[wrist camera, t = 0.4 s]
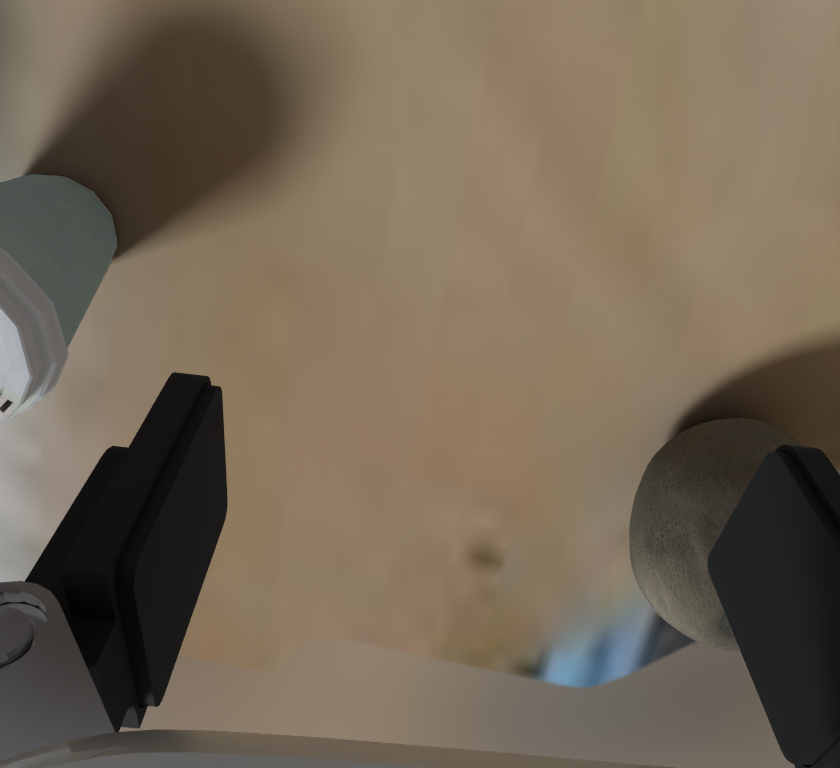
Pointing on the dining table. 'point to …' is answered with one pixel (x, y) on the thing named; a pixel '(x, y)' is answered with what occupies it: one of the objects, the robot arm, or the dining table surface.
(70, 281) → the disposable coffee cup
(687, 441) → the cantaloupe
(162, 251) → the dining table surface
